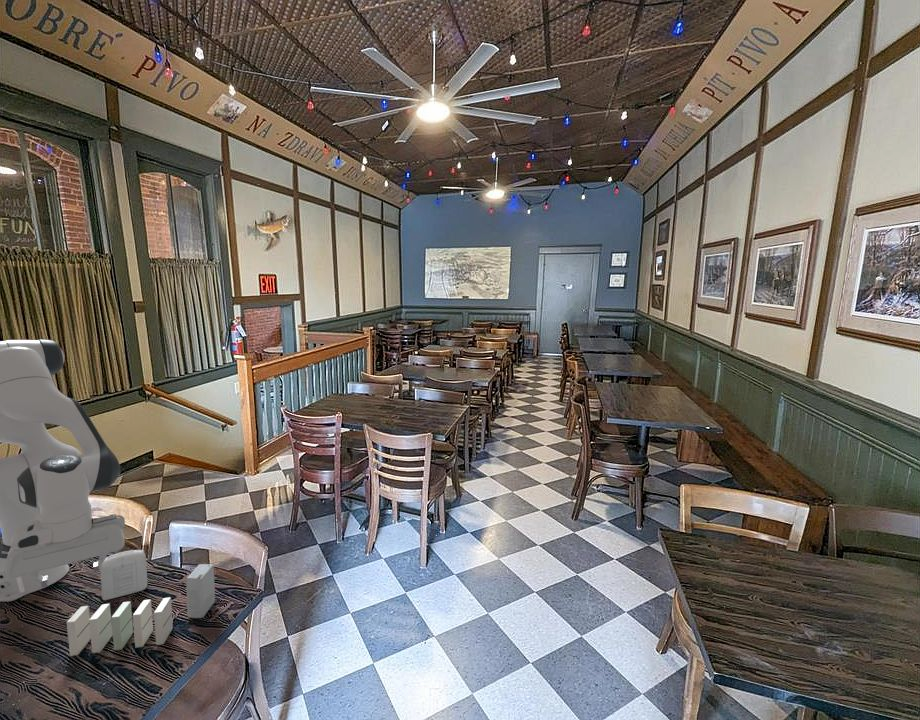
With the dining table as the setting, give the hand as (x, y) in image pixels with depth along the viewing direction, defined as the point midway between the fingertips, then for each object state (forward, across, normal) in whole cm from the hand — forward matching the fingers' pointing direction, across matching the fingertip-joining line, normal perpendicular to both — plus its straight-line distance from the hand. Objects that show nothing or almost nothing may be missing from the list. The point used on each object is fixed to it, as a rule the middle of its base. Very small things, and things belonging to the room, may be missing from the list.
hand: (71, 577), depth 97 cm
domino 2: (+18, -5, +4) cm, 19 cm away
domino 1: (+18, -1, +2) cm, 18 cm away
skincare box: (+18, -26, +6) cm, 32 cm away
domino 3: (+18, -13, +8) cm, 23 cm away
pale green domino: (+18, -9, +6) cm, 21 cm away
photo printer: (+19, -9, -15) cm, 26 cm away
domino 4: (+18, -17, +10) cm, 26 cm away
